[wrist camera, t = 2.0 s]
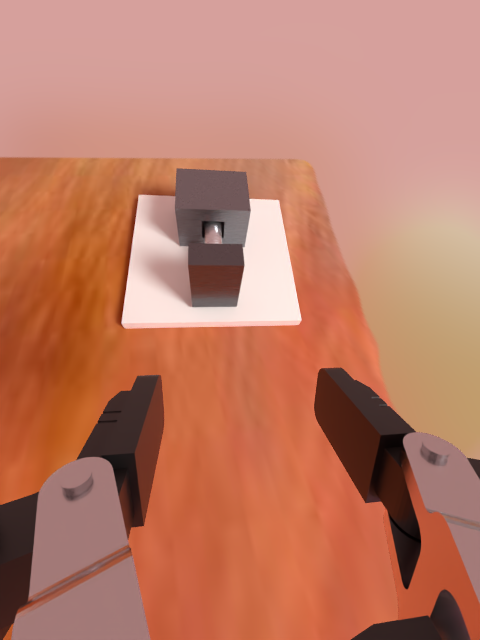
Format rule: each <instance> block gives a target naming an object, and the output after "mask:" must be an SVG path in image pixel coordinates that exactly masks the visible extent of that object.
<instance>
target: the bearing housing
mask: <svg viewBox="0 0 480 640" xmlns="http://www.w3.org/2000/svg"><path fill="white" fill-rule="evenodd" d="M250 213H251V208H250V200H249V192H248V184H247V176H246V172H235V171H215V170H196V169H177V173H176V193H175V214H176V222H177V229H178V237H179V244H180V246H188V243H205V224H204V221H217V222H221V232H222V244H243V247H245V242H246V236H247V230H248V225H249V219H250Z"/></svg>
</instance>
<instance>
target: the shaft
mask: <svg viewBox="0 0 480 640" xmlns="http://www.w3.org/2000/svg"><path fill="white" fill-rule="evenodd" d="M204 224H205V243H188V270H189V280H190V289H191V299H192V307H237V303H238V298H239V293H240V287H241V282H242V277H243V271H244V266H245V264H244V254H243V244H222V232H221V222H217V221H204Z"/></svg>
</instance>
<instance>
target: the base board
mask: <svg viewBox="0 0 480 640" xmlns="http://www.w3.org/2000/svg"><path fill="white" fill-rule="evenodd" d="M249 200H250V208H251V213H250V219H249V225H248V230H247V236H246V242H245V247H243V254H244V264H245V266H244V271H243V277H242V282H241V287H240V293H239V298H238V303H237V307H192V299H191V289H190V280H189V270H188V246H180V244H179V237H178V229H177V222H176V214H175V196H160V195H139V198H138V206H137V213H136V220H135V228H134V235H133V242H132V250H131V257H130V264H129V272H128V279H127V286H126V294H125V301H124V308H123V316H122V323H121V324H122V325H123V327H124V328H170V327H222V326H273V325H299V323H300V322H301V315H300V310H299V304H298V299H297V294H296V289H295V283H294V278H293V273H292V268H291V262H290V257H289V252H288V247H287V242H286V236H285V231H284V226H283V221H282V215H281V210H280V205H279V200H262V199H249Z"/></svg>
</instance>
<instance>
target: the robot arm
mask: <svg viewBox="0 0 480 640" xmlns="http://www.w3.org/2000/svg"><path fill="white" fill-rule="evenodd" d="M314 410H315V416H316V419H317V421H318V423H319V425H320V426H321V428H322V430H323V432H324V433H325V435H326V437H327V438H328V440H329V442H330V443H331V445H332V447H333V449H334V450H335V452H336V454H337V455H338V457H339V459H340V460H341V462H342V464H343V466H344V467H345V469H346V471H347V472H348V474H349V476H350V477H351V479H352V481H353V482H354V484H355V486H356V488H357V489H358V491H359V493H360V494H361V496H362V498H363V499H364V501H365V503H370V502H380V501H381V502H382V503H383V505H384V506H385V512H384V517H383V520H384V527H385V532H386V537H387V543H388V548H389V554H390V559H391V565H392V570H393V575H394V581H395V586H396V592H397V598H398V620H396V621H390V622H385V623H379V624H373V625H372V626H370V627H369V628H367V629H366V630H364V631H363V632H361V633H360V634H358V635H357V636H355V637H354V638H352V639H351V640H480V460H476V459H471V458H466V456H465V455H464V454H463V453H462V452H461V451H460V450H459V449H458V448H456V447H455V446H453V445H452V444H451V443H449V442H447V441H445V440H443V439H441V438H439V437H437V436H434V435H431V434H427V433H420V432H416V431H414V429H412V428H411V427H410V426H409V425H408V424H407V423H406V422H405V421H404V420H403V419H402V418H401V417H400V416H399V415H398V414H397V413H396V412H395V411H394V410H393V409H392V408H391V407H390V406H387V404H386V403H385V402H384V401H383V400H382V399H381V398H379V396H378V395H377V394H376V393H375V392H374V391H373V390H372V389H371V388H370V387H368V386H366V385H364V384H362V383H361V382H359V381H357V380H354V379H353V378H352V377H351V376H350V375H349V374H348V373H347V372H346V371H345V370H344V369H342V368H322V369H320V370H319V373H318V379H317V387H316V395H315V403H314ZM163 428H164V406H163V393H162V381H161V376H160V375H145V376H137V378H136V380H135V383H134V385H133V387H132V389H131V391H121V392H119V393H118V394H117V395H116V396H114V397H113V398H112V399H111V400H110V401H109V402H108V404H107V406H106V407H105V409H104V411H103V414H102V415H101V416H100V418H99V420H98V424H96V425H95V427H94V429H93V431H92V433H91V435H90V436H89V438H88V440H87V442H86V444H85V445H84V447H83V449H82V451H81V453H80V454H79V456H78V458H77V460H75V461H73V462H70V463H68V464H66V465H64V466H63V467H61V468H60V469H58V470H57V471H56V472H54V473H53V474H52V475H51V476H50V477H49V478H48V479H47V480H46V481H45V483H44V484H43V486H42V487H41V489H40V491H39V492H37V493H35V494H32V495H30V496H27V497H24V498H21V499H18V500H15V501H12V502H9V503H6V504H3V505H0V640H3V638H4V636H5V635H6V633H7V631H8V630H9V628H10V626H11V625H12V624H13V623H14V626H13V631H12V638H11V640H150V636H149V631H148V626H147V622H146V617H145V612H144V607H143V603H142V598H141V593H140V589H139V584H138V579H137V575H136V570H135V565H134V561H133V556H132V552H131V548H130V547H129V543H128V538H129V534H130V530H131V527H139V526H144V522H145V517H146V513H147V508H148V503H149V498H150V493H151V488H152V483H153V478H154V473H155V468H156V464H157V459H158V454H159V449H160V444H161V439H162V434H163Z"/></svg>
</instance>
